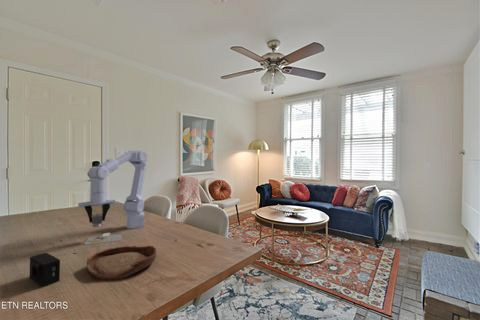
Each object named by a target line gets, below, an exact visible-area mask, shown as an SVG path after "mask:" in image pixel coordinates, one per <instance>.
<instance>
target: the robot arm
mask: <svg viewBox="0 0 480 320" xmlns="http://www.w3.org/2000/svg"><path fill="white" fill-rule="evenodd" d="M147 161H148V154H147V153H146V151H145V150H128V151H125V152H124V153H123V154H121V155H120V156H118V157H117V158H115V159H112V158H108V159H106V161H104V162H102V163H98V165H97V166H92V167H90V168H89V169H88V171H87V174H86V175H87V177H88V178H89V182H90V189H89V192H90V194H89V196H90V198H89V200H90V201H84V202H78V203H77V207H78V209H81V208H84V210H85V212H86V214H87V217H88V219H89V220H88V221H89V223H90V224H92V215H93V207H97V206H101V208H102V209H101V210H102V213H101V214H102V222H103V221H105V220H106V217H107V213H108V212H109V210H110V208H111V205H116V199H105V197H106V179H107V178H108V177H109V174H111V173H113V172H114V171H116V170H117V169H119V166H120V165H123V164H124V163H127V162H129V163H130V164H131V165H132V166H133V167H134V168H135V169H134V172H133V173H134V174H133V179H132V184H131V190H130V194H129V195H128V196H126V198H125V202H124V203H123V207H122V208H123V211H124V212H125V213H126V224H125V225H126V227H125V228H126V229H128V230H133V229H141V228H145V226H146V225H145V224H146V222H145V211H143V210H144V209H145V199H144V197H142V190H143V185H144V179H145V175H146V168H147Z"/></svg>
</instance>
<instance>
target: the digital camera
mask: <svg viewBox="0 0 480 320" xmlns="http://www.w3.org/2000/svg"><path fill="white" fill-rule="evenodd" d="M60 275H61V259H60V258H57V257H56V256H54V255H52V254H50V253H47V252H44V253H40V254H37V255H36V254H35V255H32V256H30V257H29V279H30V280H32V281H33V282H34V283H36V284H37V285H38V286H40V287H41V288H45V287H48V286H50V285H53V284H56V283H58V282H60V278H61V277H60Z"/></svg>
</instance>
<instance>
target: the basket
mask: <svg viewBox="0 0 480 320" xmlns="http://www.w3.org/2000/svg"><path fill="white" fill-rule="evenodd" d="M156 257H157V248H156V247H154V246H153V245H147V246H146V245H145V246H127V245H126V246H118V247H115V248H113V247H112V248H107V249H103V250H99V251H98V252H95V253H93V254H91V256H89V257H88V258H87V261H86V267H87V271H88V272H89V273H90V274H91V275H92V276H94V277H96V278H97V279H101V280H111V281H112V280H120V279H125V278H126V277H129V276H131V275H133V274H135V273H137V272H139V271H141V270H143V269H145V268H146V267H148V266H149V265H151V264H153V262H154V261H156Z"/></svg>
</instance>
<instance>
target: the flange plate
mask: <svg viewBox="0 0 480 320" xmlns="http://www.w3.org/2000/svg"><path fill="white" fill-rule="evenodd" d="M122 236H123V235H122V233H120V234H110V235H108V236H103V235H100V236H90V237H88V238H87V239H86V241H85V242H84V245H92V244H93V245H94V244H102V243H109V242H110V243H112V242H119V241H121V239H122ZM96 239H97V240H96ZM98 239H100V240H98Z"/></svg>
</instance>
